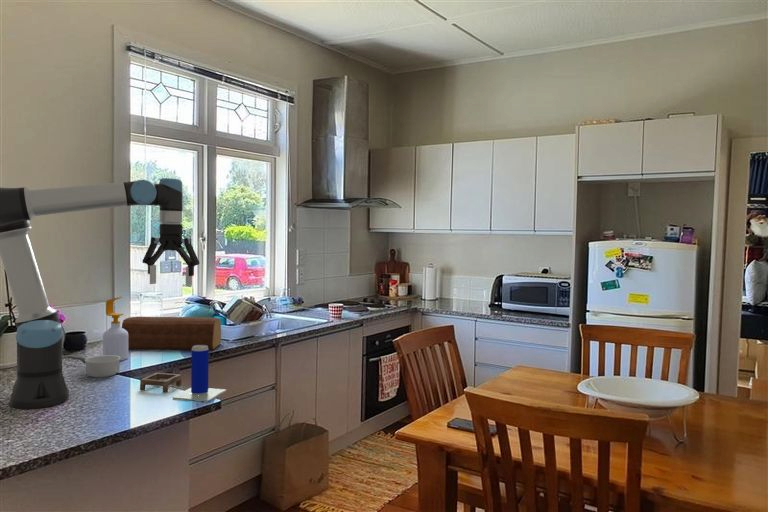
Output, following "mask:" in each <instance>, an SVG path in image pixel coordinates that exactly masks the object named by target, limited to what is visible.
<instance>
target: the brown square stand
mask: <svg viewBox="0 0 768 512" xmlns="http://www.w3.org/2000/svg"><path fill="white" fill-rule="evenodd" d="M163 379H164V380H163ZM139 381H140V384H139V391H140V390H144V391H146V390H145V389H146V387H147V386H154V387H155V386H156V387H162V393H163V392H167V393H169V386H170V385H172V384H175V385H176V387H181V386H182V374H179V373H178V374H177V373H168V372H167V373H164V372H155V373H153V374H150V375H148V376H146V377H143V378H141V379H140V380H139Z"/></svg>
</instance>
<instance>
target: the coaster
mask: <svg viewBox="0 0 768 512" xmlns="http://www.w3.org/2000/svg"><path fill="white" fill-rule="evenodd" d="M226 392H227V389H224V388H211V387H208V392H207V393H206V394H204V395H199V396H198V395H193V394H189V393H192V392H191V387H188V388H187V389H185V390H183V391H181V392H179V393H178V394H176V395H174V396H172V397H171V399H172V398H173V399H172V400H176V399H183V400H182V401H188V400H196V401H195V402H199V401H205V402H204V403H209V402H208V401H210V400H211V401H212V399H213V400H215V399H216V398H218V397H219V396H221V395H222V394H224V393H226ZM207 397H208V398H207ZM186 399H187V400H186ZM211 401H210V402H211Z"/></svg>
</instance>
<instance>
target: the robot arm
mask: <svg viewBox="0 0 768 512" xmlns="http://www.w3.org/2000/svg"><path fill="white" fill-rule="evenodd" d="M183 189H184V188H183V181H182V180H181V179H179V178H169V177H166V178H165V177H164V178H160V179H159V183H152V182H151V181H149V180H146V179H138V180H134V181H124V182H122V181H121V182H110V183H98V184H85V185H76V186H75V185H73V186H64V187H63V186H62V187H55V188H53V187H52V188H44V189H43V188H42V189H29V188H28V187H25V186H23V187H0V258H1V261H2V264H3V265H2V266H3V267H4V271H5V274H6V278H7V281H8V284H9V287H10V290H11V293H12V296H13V300H14V304H15V305H16V309H17V313H18V316H17V318H16V319H15V325H16V328H17V329H16V333H15V341H16V379H15V382H14V385H13V388H12V392H11V393H10V396H9V406H10V407H11V408H15V409H22V410H23V409H26V410H27V409H39V408H40V409H41V408H48V407H53V406H56V405H59V404H63V403H65V402H66V401H68V400H70V399H69V398H70V390H69V389H68V386H67V383H66V380H65V377H64V374H63V345H64V343H65V340H66V331H65V328H64V326H63V325H62V323H61V321H60V317H59V313H58V310H57V309H56V308H53V307H51V306H50V302H49V300H48V296H47V294H46V289H45V287H44V282H43V279H42V276H41V273H40V270H39V267H38V264H37V261H36V258H35V253H34V250H33V246H32V243H31V240H30V237H29V232H30V231H31V230H32V224H31V222H30V221H32V220H33V219H34V218H35V217H38V216H47V215H57V214H58V215H59V214H66V213H75V212H82V211H83V212H84V211H85V212H86V211H94V210H101V209H111V208H113V209H114V208H120V207H128V206H129V207H132V206H133V207H134V206H155V207H157V206H159V216H158V218H159V223H161V224H159V227H158V229H159V237H158V236H152V237H150V243H149V246H148V248H147V251H146V253H145V254H144V257H143V259H142V263H143V264H146V265H147V274H148V275H149V284H150V285H155V284H157V265H156V264H155V263H156V262H157V261H158V259H160V257H161V256H162V254H164V252H165V251H173V252H174V251H175V252H177V253H178V255H180V257H181V258H182V260H183V261H184V263H185V264H186V265H187V266H185V287H190V286H192V285H193V280H192V279H193V277H194V275H195V266H199V265H200V261H199V257H197V254H196V252H195V251H196V250H195V249H194V247H193V244H192V238H190V237H184V238H183V232H184V231H183V224H181V223H183V221H184V220H183V219H184V218H183V215H184V214H183V212H184V211H183V210H184V209H183V208H184V207H183V206H184V190H183ZM159 244H160V245H159ZM182 244H183V245H184V246H185V248H184V247H183V246H182ZM158 245H159V246H158ZM156 249H157V250H156ZM185 249H186V250H185ZM155 250H156V251H155Z"/></svg>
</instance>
